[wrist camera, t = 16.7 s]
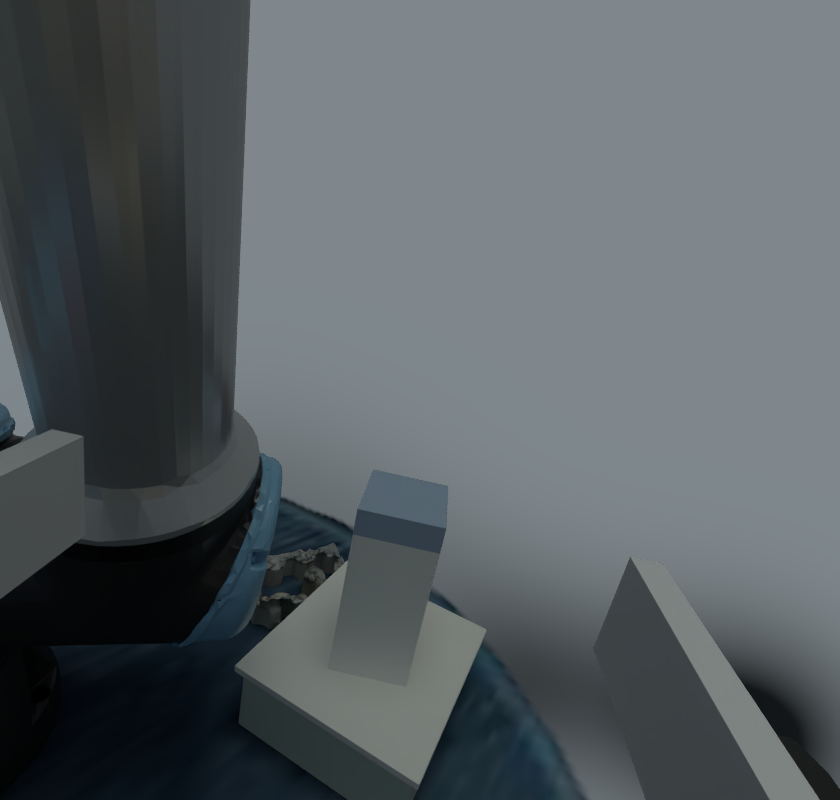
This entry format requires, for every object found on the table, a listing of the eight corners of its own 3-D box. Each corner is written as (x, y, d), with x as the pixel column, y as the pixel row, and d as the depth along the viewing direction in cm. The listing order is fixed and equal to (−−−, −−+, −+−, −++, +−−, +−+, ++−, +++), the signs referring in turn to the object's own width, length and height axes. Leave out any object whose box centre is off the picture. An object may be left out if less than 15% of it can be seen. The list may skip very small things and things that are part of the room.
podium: (228, 725, 36) (234, 665, 34) (338, 607, 49) (347, 560, 47) (400, 847, 31) (419, 784, 29) (471, 679, 44) (486, 629, 42)
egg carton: (250, 638, 44) (254, 603, 43) (237, 583, 50) (240, 551, 49) (356, 612, 49) (362, 581, 48) (333, 566, 56) (338, 537, 54)
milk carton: (328, 669, 35) (357, 508, 31) (346, 611, 41) (373, 469, 37) (406, 687, 35) (446, 528, 31) (413, 626, 41) (448, 486, 37)
